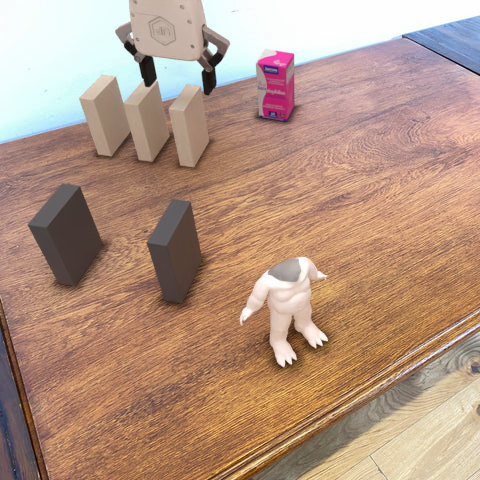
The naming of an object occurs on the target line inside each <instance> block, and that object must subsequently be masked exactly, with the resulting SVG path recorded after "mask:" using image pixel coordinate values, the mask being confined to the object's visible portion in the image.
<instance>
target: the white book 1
mask: <svg viewBox="0 0 480 480" xmlns="http://www.w3.org/2000/svg"><path fill="white" fill-rule="evenodd" d="M122 96H123V95H122V94H121V89H120V86H119V83H118V79H117V76H116V75H109V74H101V75H100V76H99V77H98V78H97V79H96V80H95V82H93V83H92V84H91V85H90V86H89V88H87V89H86V90H85V91H84V92H83V94H81V95H80V96H79V97H78V100H79V103H80V105H81V109H82V112H83V114H84V115H83V116H84V117H85V120H86V123H87V126H88V129H89V131H90V134H91V137H92V140H93V143H94V146H95V150H96V152H97V155H99V156H106V157H112V156H114V154H115V152H116V151H117V150H118V149H119V147H120V146H121V145H122V144H123V143H124V141H125V140H126V138H127V137H128V136H129V135H130V133H131V130H130V126H129V123H128V119H127V116H126V112H125V109H124V105H123V103H124V100H123V97H122Z"/></svg>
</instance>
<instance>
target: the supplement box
mask: <svg viewBox="0 0 480 480" xmlns="http://www.w3.org/2000/svg"><path fill="white" fill-rule="evenodd" d="M255 74H256V75H255V76H256V90H257V103H258V104H257V105H258V106H257V107H258V108H257V109H258V118H262V119H263V118H264V119H270V120H275V121H276V120H277V121H281V122H288V120H289V118H290V116H291V114H292V112H293V110H294V109H295V53H294V52H286V51H281V50H274V49H269V48H264V50H263V52H262V53H261V55H260V56H259V57H258V59H257V60H256V62H255Z"/></svg>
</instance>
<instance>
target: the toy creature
mask: <svg viewBox="0 0 480 480" xmlns="http://www.w3.org/2000/svg"><path fill="white" fill-rule="evenodd" d="M327 278H328V274H324V273H323V272H322V271H320V270H318V268H317V267H316V265H315V264H314V262H313V261H312V260H311V259H310V258H308V257H306V256H299V257H292V258H290V259H286V260H284V261H281V262H279V263H277V264H276V265H273V266H272V267H270V268H269V269H267V270H266V271H265V272H263V274H262V275H261V276H260V278H259V279H257V281H256V282H255V283H254V285H253V289H252V291H251V293H250V295H249V297H248V299H247V300H246V306H245V307H243V309H242V310H241V312H240V316H239V325H240V326H243V321H244V322H245V321H246V320H247V319H248V318H250V317H251V316H252V315H253V314H254V312H258V310H260V309H261V308H262V307H263V306H264V303H265V300H266V303H267V307H268V309H269V315H270V316H269V323H270V327H269V329H270V331H269V345H270V346H271V347H272V350H273V352H274V357H275V360H276V362H277V364H278V365H280V366H281V367H282V368H285V366H286V362H287V363H288V364H289V365H290V366H291V365H293V360H295V361H297V360H298V358H297V354H296V352H295V351H294V350H293V348H292V346H291V344H290V343H289V342H288V341H287V337H288V334H289V328H290V326H291V323H292V320H293V319H294V323H293V326H294V327H293V328H294V329H295V331H297V333H301V334H302V336H303V337H304V339H306V341H307V342H308V344H309V346H311V347H313V348H314V349H317V345H319V346H321V347H323V341H324V342H329V340H328V337H327V335H326V334H325V333H324V332H323V331H321V330H320V328H318V326H317V325H316V324H315V322H313V320H312V313H313V308H312V305H311V298H312V288H311V281H320V280H323V279H324V281H326V282H327ZM292 317H293V319H292Z"/></svg>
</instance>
